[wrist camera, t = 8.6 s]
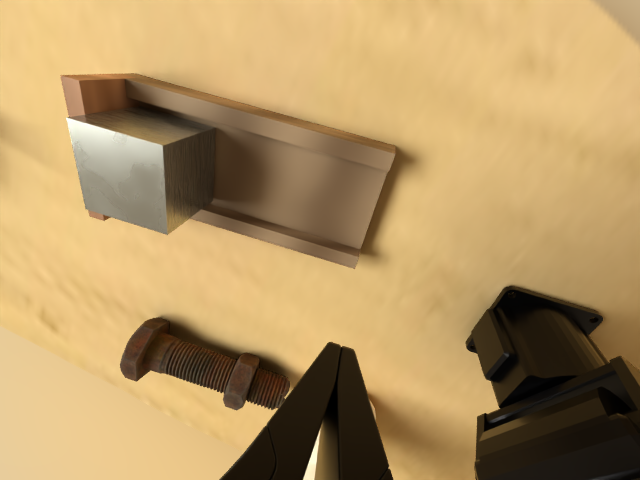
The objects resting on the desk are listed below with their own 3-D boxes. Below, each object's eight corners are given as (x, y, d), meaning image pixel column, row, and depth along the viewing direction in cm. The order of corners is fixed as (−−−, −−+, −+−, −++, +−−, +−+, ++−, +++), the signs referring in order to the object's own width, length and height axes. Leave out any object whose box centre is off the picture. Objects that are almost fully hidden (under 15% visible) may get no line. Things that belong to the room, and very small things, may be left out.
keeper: (215, 127, 19) (162, 145, 14) (212, 200, 21) (167, 234, 17) (140, 106, 19) (66, 117, 15) (146, 180, 21) (85, 209, 17)
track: (395, 145, 18) (395, 170, 14) (357, 253, 22) (349, 297, 18) (133, 73, 19) (60, 75, 15) (144, 189, 23) (89, 216, 19)
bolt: (294, 366, 33) (162, 321, 33) (298, 361, 29) (146, 309, 29) (274, 426, 30) (131, 377, 30) (276, 432, 26) (108, 374, 26)
